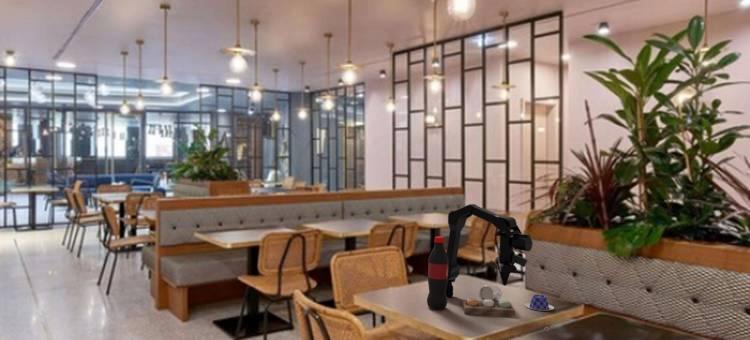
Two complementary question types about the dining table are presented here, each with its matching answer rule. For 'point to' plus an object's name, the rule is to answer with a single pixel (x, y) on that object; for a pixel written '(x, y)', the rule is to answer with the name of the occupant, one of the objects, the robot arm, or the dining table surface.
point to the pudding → (539, 303)
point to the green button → (504, 304)
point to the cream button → (488, 303)
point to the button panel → (488, 309)
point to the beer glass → (490, 292)
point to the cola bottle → (437, 276)
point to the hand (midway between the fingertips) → (504, 285)
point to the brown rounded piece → (472, 302)
